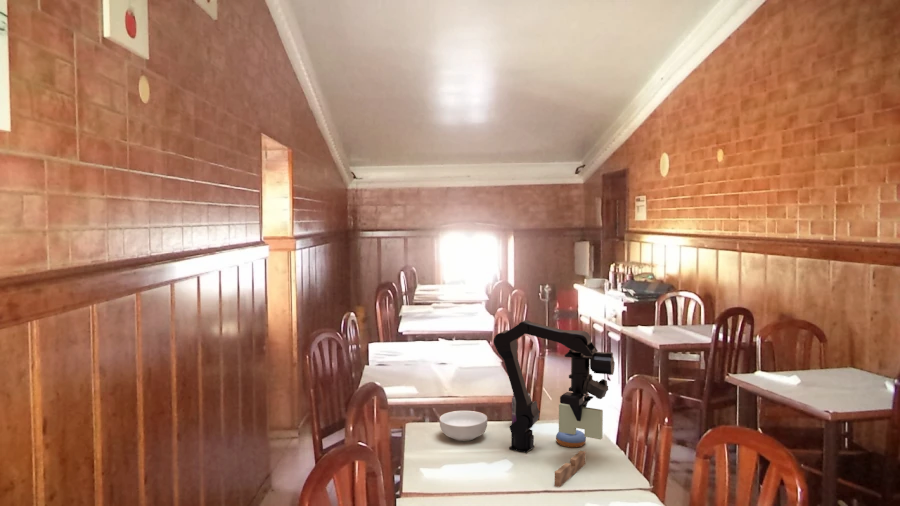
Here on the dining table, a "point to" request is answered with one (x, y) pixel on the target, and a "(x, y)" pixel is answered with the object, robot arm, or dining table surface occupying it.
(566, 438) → the doughnut
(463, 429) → the cereal bowl
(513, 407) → the beverage can
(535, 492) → the dining table surface
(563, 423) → the upright grey panel
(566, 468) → the notched wooden bar
